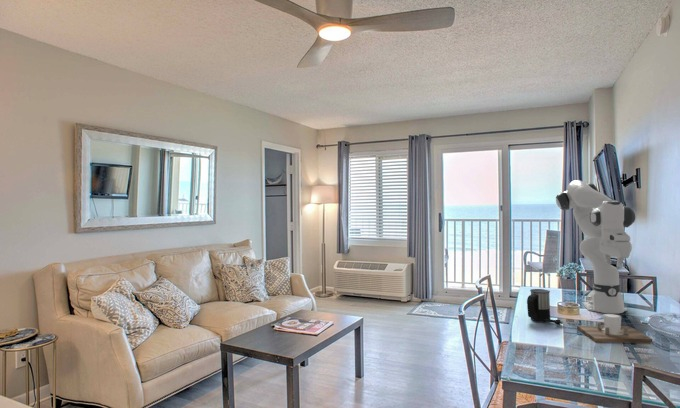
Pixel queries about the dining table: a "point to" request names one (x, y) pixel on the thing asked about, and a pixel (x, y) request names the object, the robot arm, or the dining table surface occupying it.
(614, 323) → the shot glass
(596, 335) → the pin board
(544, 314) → the milk frother
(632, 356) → the dining table surface
